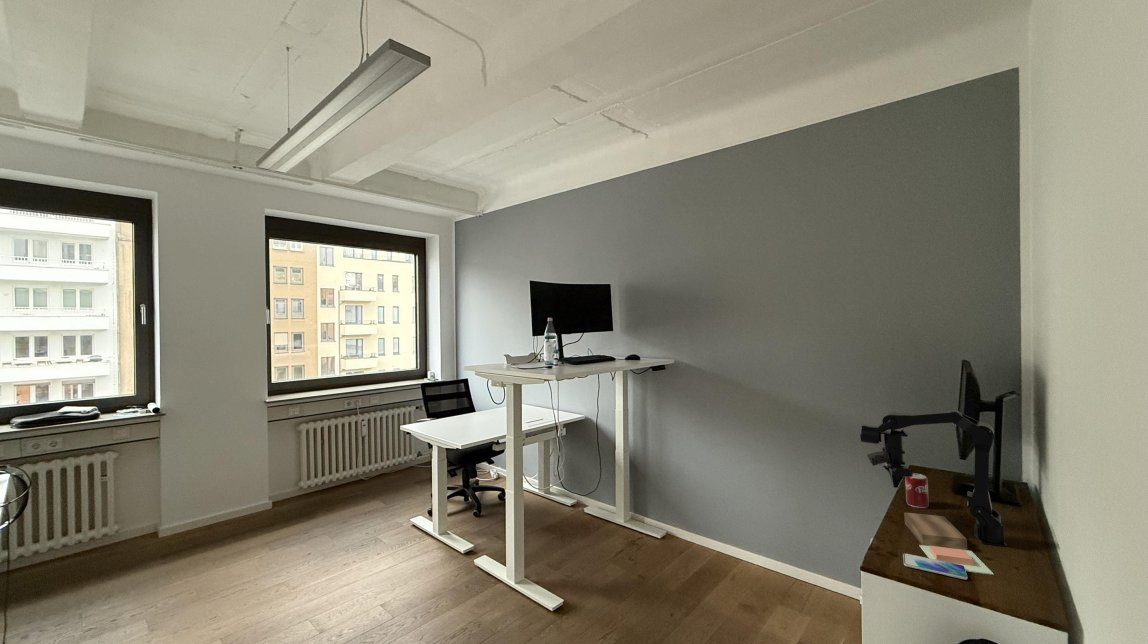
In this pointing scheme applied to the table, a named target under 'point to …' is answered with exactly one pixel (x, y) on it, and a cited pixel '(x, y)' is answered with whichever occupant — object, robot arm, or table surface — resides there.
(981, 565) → the mat
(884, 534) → the table surface
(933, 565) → the smartphone
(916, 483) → the soda can
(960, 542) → the tan flat slab
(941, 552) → the block
